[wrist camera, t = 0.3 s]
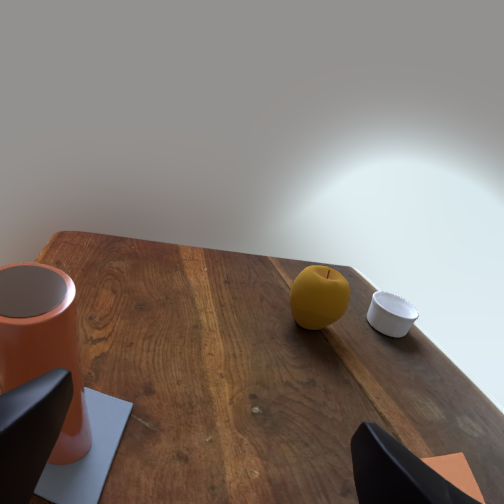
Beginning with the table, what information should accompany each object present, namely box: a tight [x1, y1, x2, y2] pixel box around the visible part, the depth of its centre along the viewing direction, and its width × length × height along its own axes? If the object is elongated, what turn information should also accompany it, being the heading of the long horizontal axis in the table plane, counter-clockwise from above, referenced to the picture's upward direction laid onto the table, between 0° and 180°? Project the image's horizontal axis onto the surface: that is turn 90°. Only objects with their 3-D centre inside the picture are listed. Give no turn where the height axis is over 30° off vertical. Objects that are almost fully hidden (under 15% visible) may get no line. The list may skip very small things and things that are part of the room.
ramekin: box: [367, 291, 419, 337], centre depth 49 cm, size 9×9×4 cm
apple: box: [289, 265, 350, 330], centre depth 44 cm, size 8×8×9 cm
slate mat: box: [34, 387, 133, 504], centre depth 18 cm, size 12×10×1 cm
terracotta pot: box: [0, 263, 93, 465], centre depth 16 cm, size 6×6×14 cm
